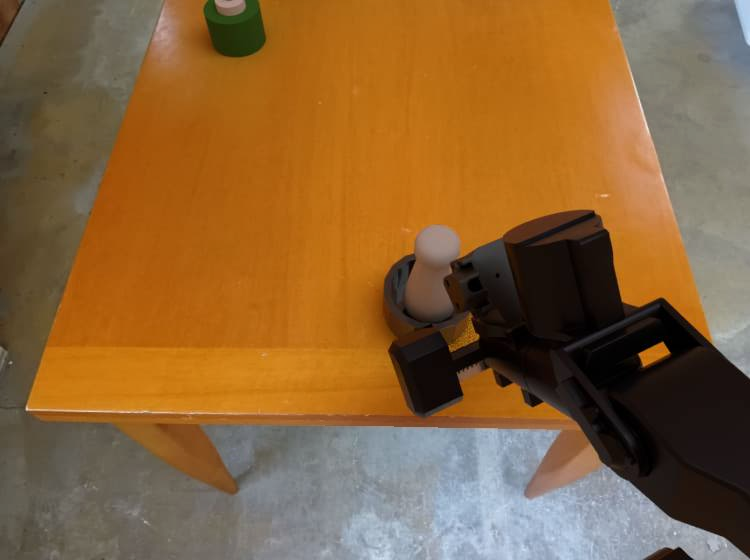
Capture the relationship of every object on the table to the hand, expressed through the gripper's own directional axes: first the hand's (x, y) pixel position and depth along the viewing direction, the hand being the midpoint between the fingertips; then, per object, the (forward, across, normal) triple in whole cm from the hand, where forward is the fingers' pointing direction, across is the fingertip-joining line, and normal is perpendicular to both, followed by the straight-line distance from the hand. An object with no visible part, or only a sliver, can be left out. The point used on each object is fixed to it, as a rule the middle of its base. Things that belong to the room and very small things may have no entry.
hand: (460, 313), depth 54 cm
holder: (+10, 0, +2) cm, 10 cm away
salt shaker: (+9, 0, +2) cm, 9 cm away
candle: (+48, +4, -37) cm, 61 cm away
